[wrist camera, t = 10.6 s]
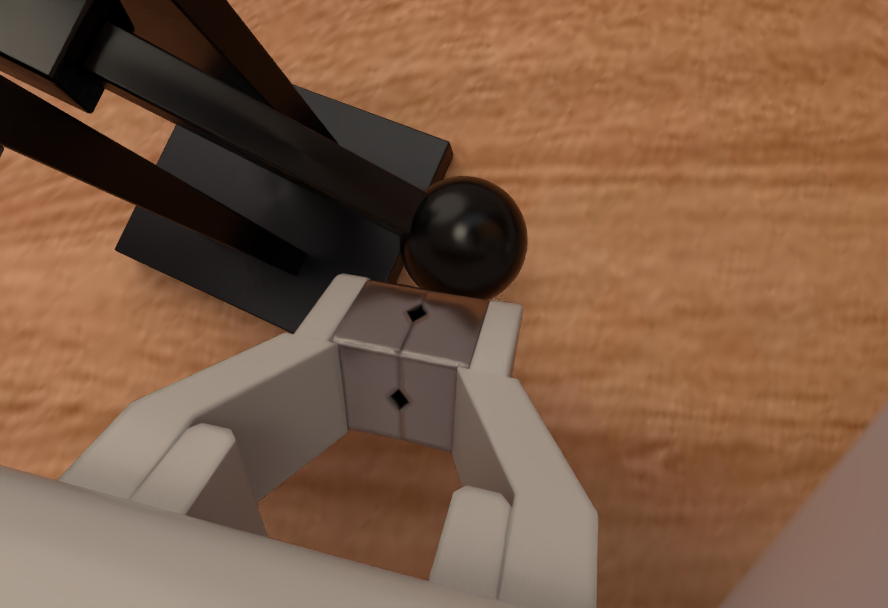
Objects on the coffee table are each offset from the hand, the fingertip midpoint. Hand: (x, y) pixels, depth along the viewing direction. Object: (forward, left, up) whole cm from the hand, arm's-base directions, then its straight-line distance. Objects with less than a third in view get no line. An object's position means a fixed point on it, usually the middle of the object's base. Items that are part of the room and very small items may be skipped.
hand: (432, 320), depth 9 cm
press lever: (+6, 0, -3) cm, 7 cm away
